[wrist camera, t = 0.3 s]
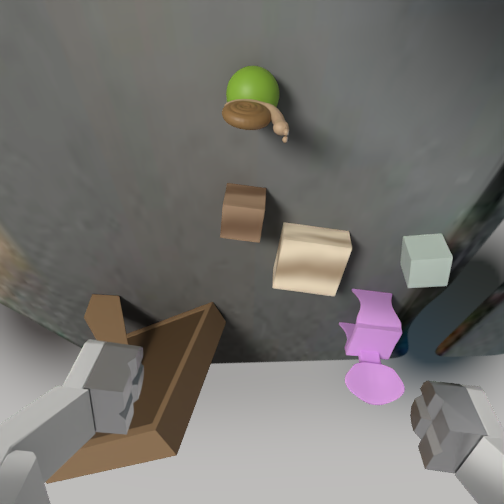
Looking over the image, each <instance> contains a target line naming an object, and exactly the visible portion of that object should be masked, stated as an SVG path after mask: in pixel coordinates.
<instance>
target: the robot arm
mask: <svg viewBox="0 0 504 504" xmlns="http://www.w3.org/2000/svg"><path fill="white" fill-rule="evenodd" d="M142 358H143V347H141V346H134V345H127V344H120V343H113V342H105V341H98V340H91V339H89V340H88V341H87V342H86V343H85V344H84V346H83V348H82V350H81V351H80V353H79V355H78V357H77V359H76V361H75V363H74V365H73V367H72V369H71V371H70V372H69V374H68V376H67V378H66V380H65V382H64V384H63V386H56V387H54V388H53V389H51V390H50V391H48V392H47V393H45V394H44V395H42V396H41V397H39V398H38V399H37V400H35V401H34V402H32V403H31V404H29V405H28V406H26V407H25V408H23V409H22V410H20V411H19V412H17V413H16V414H14V415H13V416H11V417H10V418H8V419H7V420H5V421H4V422H2V423H1V424H0V504H50V501H49V498H48V494H47V491H46V488H45V484H44V483H45V482H46V481H47V480H48V479H49V478H50V477H51V476H52V475H53V474H54V473H55V472H56V471H57V470H58V469H59V468H60V467H61V466H62V465H64V464H65V463H66V462H67V461H68V460H69V459H70V458H71V457H72V456H73V455H74V454H75V453H76V452H77V451H78V450H79V449H80V448H81V447H82V446H83V445H84V444H85V443H86V442H87V441H88V440H89V439H91V438H92V437H93V436H94V435H95V432H102V433H114V434H125V435H127V432H128V429H129V426H130V423H131V420H132V417H133V414H134V408H133V403H134V402H135V401H137V400H138V399H139V395H140V392H141V388H142V383H143V377H144V366H143V365H142V364H141V361H142ZM420 389H421V392H422V395H421V396H419V397H417V398H415V400H414V402H413V404H412V406H411V415H410V416H411V423H412V427H413V431H414V432H415V433H416V434H417V435H418V436H419V438H420V439H421V441H420V443H419V446H418V447H419V451H420V454H421V457H422V460H423V464H424V467H425V469H428V470H435V471H442V472H449V473H456V474H455V476H456V477H457V478H458V479H459V481H460V482H461V483H462V484H463V485H464V487H465V488H466V489H467V491H468V492H469V493H470V494H471V495H472V497H473V498H474V499H475V501H476V502H477V503H478V504H504V430H503V428H502V426H501V424H500V422H499V420H498V418H497V416H496V414H495V412H494V410H493V408H492V406H491V404H490V402H489V400H488V398H487V396H486V394H485V392H484V390H483V389H482V388H481V387H478V386H469V385H460V384H454V383H445V382H436V381H426V382H424V383H423V385H422V387H421V388H420Z"/></svg>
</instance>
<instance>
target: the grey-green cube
mask: <svg viewBox="0 0 504 504" xmlns="http://www.w3.org/2000/svg"><path fill="white" fill-rule="evenodd" d="M452 260H453V257H452V254H451V252H450V250H449V248H448V246H447V244H446V242H445V239H444V237H443V235H442V234H428V235H415V236H403V242H402V252H401V262H400V265H401V268H402V271H403V274H404V277H405V280H406V284H407V287H408V288H418V287H435V286H447V284H448V279H449V274H450V269H451V264H452Z"/></svg>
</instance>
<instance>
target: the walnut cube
mask: <svg viewBox="0 0 504 504" xmlns="http://www.w3.org/2000/svg"><path fill="white" fill-rule="evenodd" d="M265 200H266V188H261V187H253V186H246V185H238V184H231V183H227V187H226V192H225V197H224V202H223V209H222V222H221V234H220V238H228V239H235V240H243V241H251V242H259V243H260V237H261V231H262V224H263V218H264V212H265Z"/></svg>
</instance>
